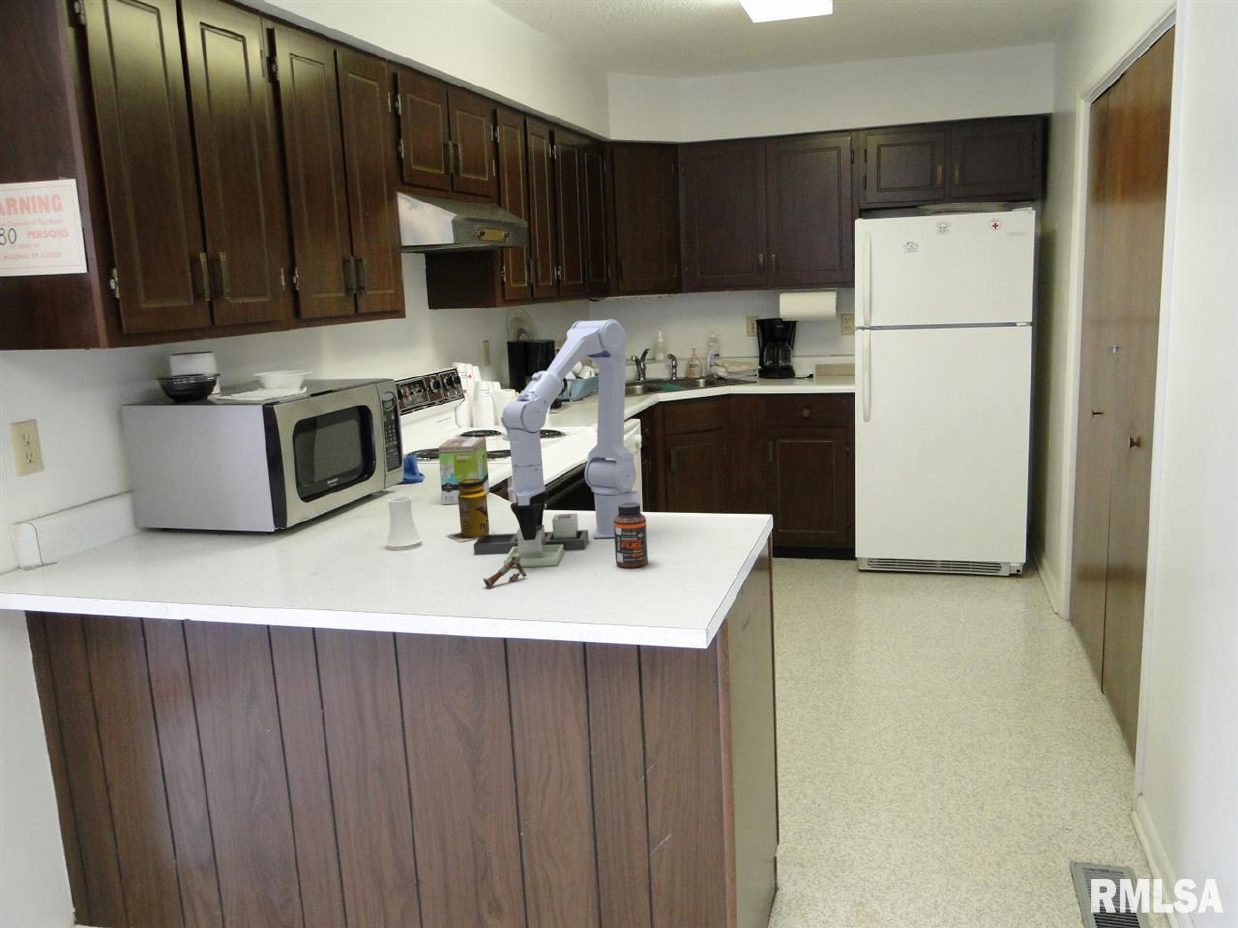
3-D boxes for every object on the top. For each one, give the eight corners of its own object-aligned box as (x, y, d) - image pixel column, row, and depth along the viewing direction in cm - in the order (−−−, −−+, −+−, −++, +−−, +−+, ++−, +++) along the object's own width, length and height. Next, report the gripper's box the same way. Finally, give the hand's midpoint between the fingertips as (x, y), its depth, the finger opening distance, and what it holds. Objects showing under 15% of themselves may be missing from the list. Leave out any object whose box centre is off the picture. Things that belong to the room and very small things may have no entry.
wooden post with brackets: (532, 573, 177) (521, 553, 175) (498, 600, 174) (487, 580, 172) (526, 571, 179) (516, 551, 177) (493, 598, 175) (482, 578, 173)
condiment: (497, 535, 211) (492, 480, 209) (460, 542, 207) (455, 486, 205) (482, 529, 217) (477, 475, 215) (446, 536, 213) (441, 482, 211)
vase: (430, 542, 208) (425, 496, 206) (404, 551, 202) (399, 504, 200) (404, 539, 212) (399, 494, 211) (378, 548, 206) (373, 501, 204)
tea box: (482, 503, 245) (476, 444, 243) (441, 505, 246) (436, 446, 243) (490, 491, 260) (485, 435, 258) (452, 493, 261) (447, 437, 258)
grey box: (546, 554, 191) (544, 523, 190) (543, 561, 187) (540, 529, 186) (523, 555, 191) (520, 524, 190) (519, 562, 187) (516, 530, 186)
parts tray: (563, 551, 194) (563, 544, 193) (557, 566, 184) (556, 558, 184) (513, 554, 194) (512, 546, 194) (504, 568, 185) (503, 560, 184)
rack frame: (588, 539, 202) (588, 529, 202) (584, 549, 194) (584, 539, 194) (482, 544, 204) (481, 534, 203) (474, 554, 196) (473, 544, 196)
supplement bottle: (621, 570, 178) (616, 509, 176) (612, 562, 184) (608, 503, 182) (652, 566, 180) (649, 505, 178) (643, 558, 185) (639, 499, 183)
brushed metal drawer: (579, 542, 201) (577, 512, 200) (576, 548, 196) (574, 517, 195) (557, 543, 201) (555, 513, 200) (554, 549, 196) (552, 519, 195)
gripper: (512, 458, 193) (518, 526, 196) (498, 472, 179) (505, 545, 181) (548, 456, 193) (553, 524, 195) (537, 470, 179) (543, 543, 181)
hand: (532, 534), depth 188 cm, fingers open, 7 cm apart
